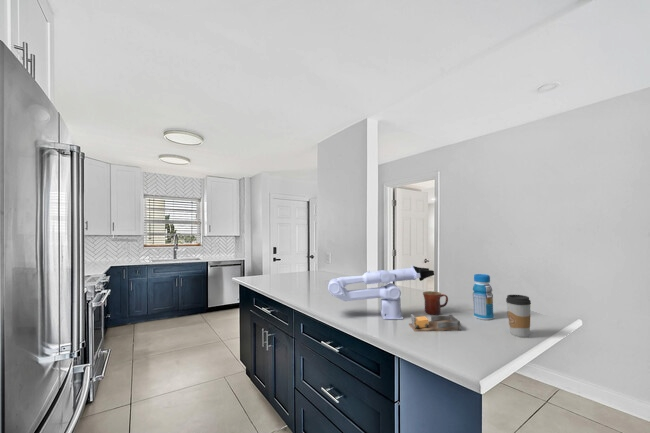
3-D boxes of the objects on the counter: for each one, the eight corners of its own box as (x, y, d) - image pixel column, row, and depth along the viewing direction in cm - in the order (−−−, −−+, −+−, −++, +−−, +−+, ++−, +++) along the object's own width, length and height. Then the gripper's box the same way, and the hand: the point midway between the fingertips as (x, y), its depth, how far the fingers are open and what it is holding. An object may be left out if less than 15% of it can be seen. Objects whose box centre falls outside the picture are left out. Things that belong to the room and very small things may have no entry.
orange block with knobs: (414, 328, 125) (413, 317, 125) (410, 324, 131) (410, 313, 132) (429, 328, 125) (429, 317, 125) (425, 324, 131) (425, 313, 131)
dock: (414, 333, 123) (413, 322, 123) (408, 325, 133) (408, 315, 133) (460, 333, 122) (460, 321, 123) (451, 325, 132) (451, 314, 132)
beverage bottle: (474, 319, 137) (472, 276, 138) (473, 314, 145) (471, 273, 146) (495, 321, 134) (493, 276, 135) (492, 315, 142) (490, 274, 143)
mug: (425, 316, 144) (424, 295, 144) (421, 311, 152) (420, 291, 153) (451, 316, 142) (450, 295, 143) (445, 311, 151) (444, 291, 152)
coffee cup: (502, 331, 120) (500, 294, 121) (522, 330, 121) (520, 293, 121) (517, 339, 112) (515, 299, 112) (538, 338, 113) (536, 298, 113)
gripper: (405, 268, 137) (435, 265, 136) (399, 264, 152) (425, 261, 151) (407, 283, 137) (437, 280, 136) (401, 278, 151) (427, 275, 151)
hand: (431, 271), depth 143 cm, fingers open, 7 cm apart
